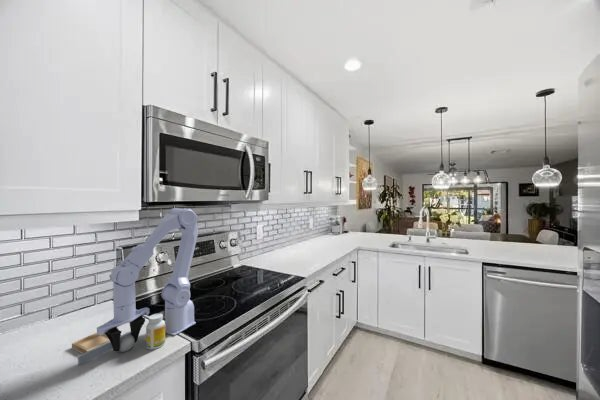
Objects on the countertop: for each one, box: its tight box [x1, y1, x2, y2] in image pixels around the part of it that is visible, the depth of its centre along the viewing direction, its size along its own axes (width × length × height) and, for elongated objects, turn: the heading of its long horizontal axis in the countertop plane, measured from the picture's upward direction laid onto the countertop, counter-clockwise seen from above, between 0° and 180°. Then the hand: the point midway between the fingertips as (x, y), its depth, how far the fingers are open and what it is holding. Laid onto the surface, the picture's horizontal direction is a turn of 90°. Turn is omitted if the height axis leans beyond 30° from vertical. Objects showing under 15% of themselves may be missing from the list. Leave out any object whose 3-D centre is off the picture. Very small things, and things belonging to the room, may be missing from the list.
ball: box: [118, 333, 135, 353], centre depth 80 cm, size 5×5×5 cm
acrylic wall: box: [77, 330, 131, 366], centre depth 80 cm, size 16×1×2 cm, turn 154°
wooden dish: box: [71, 332, 122, 354], centre depth 83 cm, size 10×10×2 cm
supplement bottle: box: [145, 312, 166, 350], centre depth 82 cm, size 5×5×10 cm
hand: (125, 345), depth 80 cm, fingers closed on ball, 5 cm apart
